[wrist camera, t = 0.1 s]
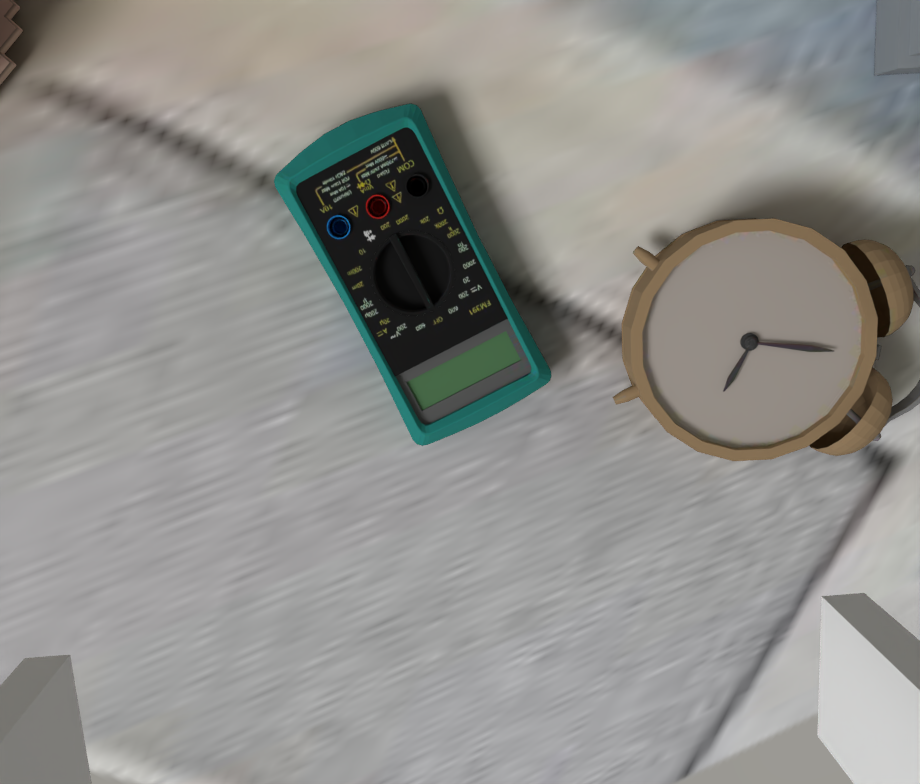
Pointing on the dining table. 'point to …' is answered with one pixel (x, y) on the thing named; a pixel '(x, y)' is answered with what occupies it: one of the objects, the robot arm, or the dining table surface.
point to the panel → (897, 37)
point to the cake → (7, 35)
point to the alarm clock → (766, 339)
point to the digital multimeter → (412, 272)
